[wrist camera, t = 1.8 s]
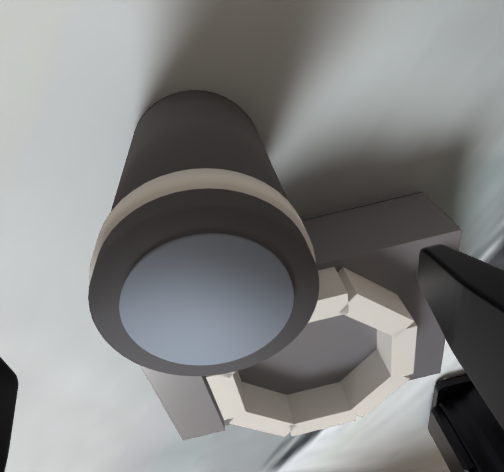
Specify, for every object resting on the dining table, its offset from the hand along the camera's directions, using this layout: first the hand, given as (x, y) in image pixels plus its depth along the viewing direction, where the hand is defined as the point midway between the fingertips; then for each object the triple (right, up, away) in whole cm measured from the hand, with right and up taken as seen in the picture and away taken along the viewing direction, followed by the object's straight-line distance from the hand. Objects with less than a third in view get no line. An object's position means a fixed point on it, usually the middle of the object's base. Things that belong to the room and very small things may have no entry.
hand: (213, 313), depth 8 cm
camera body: (+3, -2, +12) cm, 12 cm away
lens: (-1, +5, +7) cm, 8 cm away
